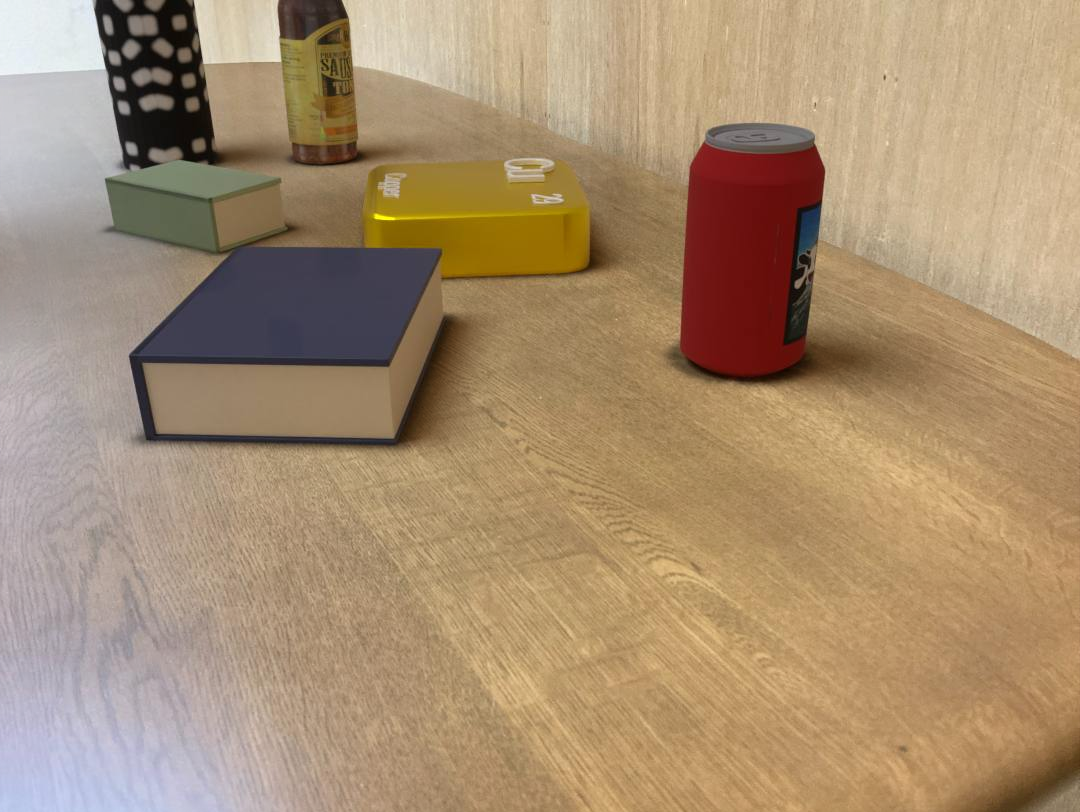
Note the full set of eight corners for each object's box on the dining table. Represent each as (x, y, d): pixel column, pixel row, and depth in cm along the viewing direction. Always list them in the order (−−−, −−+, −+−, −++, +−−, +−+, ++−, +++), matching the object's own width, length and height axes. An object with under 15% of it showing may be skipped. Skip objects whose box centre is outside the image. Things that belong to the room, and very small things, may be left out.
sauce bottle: (340, 169, 102) (316, -83, 92) (279, 165, 104) (248, -83, 94) (373, 154, 107) (353, -87, 97) (313, 150, 109) (288, -87, 99)
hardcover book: (115, 232, 85) (104, 178, 83) (187, 211, 90) (179, 159, 88) (217, 255, 80) (207, 198, 78) (288, 232, 85) (281, 177, 83)
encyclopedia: (146, 443, 54) (127, 354, 52) (248, 319, 69) (237, 246, 67) (396, 449, 54) (388, 358, 51) (446, 322, 68) (441, 248, 66)
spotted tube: (167, 179, 100) (122, -81, 90) (105, 167, 104) (54, -83, 93) (237, 160, 106) (202, -86, 95) (175, 150, 110) (135, -87, 99)
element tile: (373, 221, 87) (368, 156, 85) (568, 214, 88) (568, 151, 86) (365, 284, 74) (359, 210, 72) (593, 275, 76) (594, 202, 73)
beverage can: (826, 377, 60) (856, 142, 54) (708, 392, 59) (725, 152, 53) (768, 333, 66) (790, 116, 60) (659, 347, 64) (670, 124, 58)
